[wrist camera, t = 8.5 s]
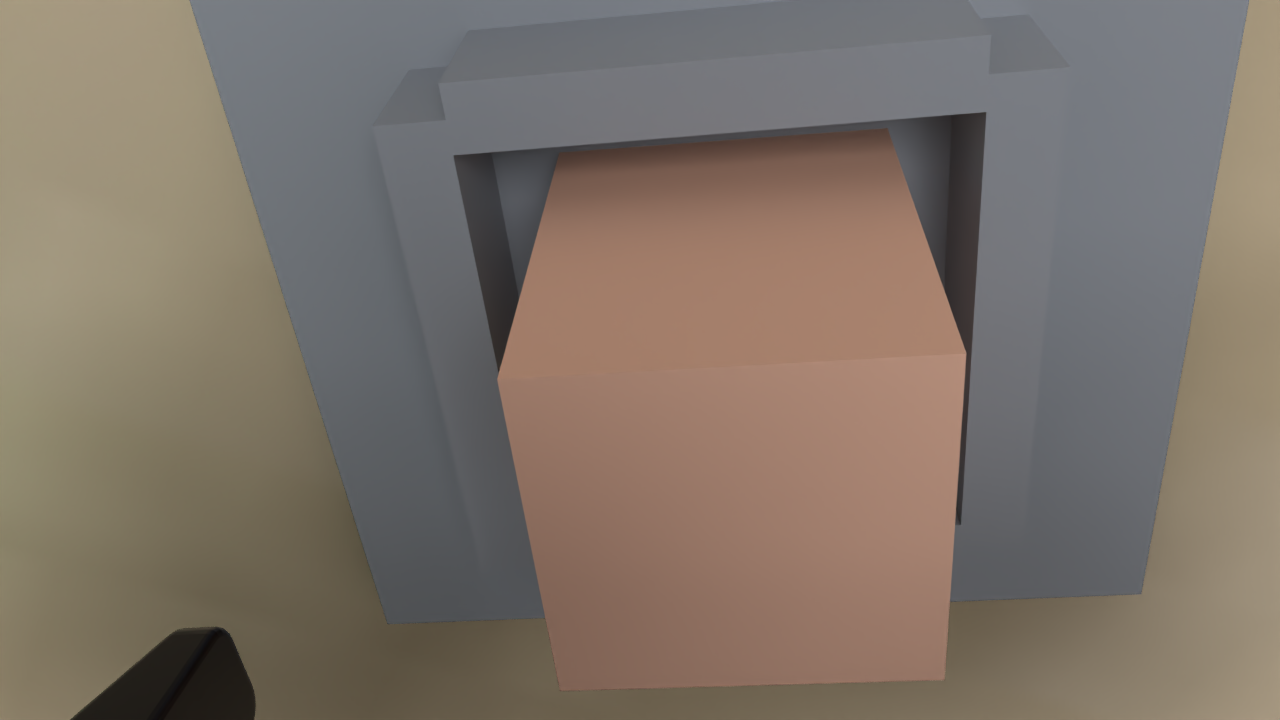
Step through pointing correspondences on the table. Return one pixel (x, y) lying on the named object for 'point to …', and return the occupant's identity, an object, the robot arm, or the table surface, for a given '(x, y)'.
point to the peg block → (737, 416)
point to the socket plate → (727, 110)
